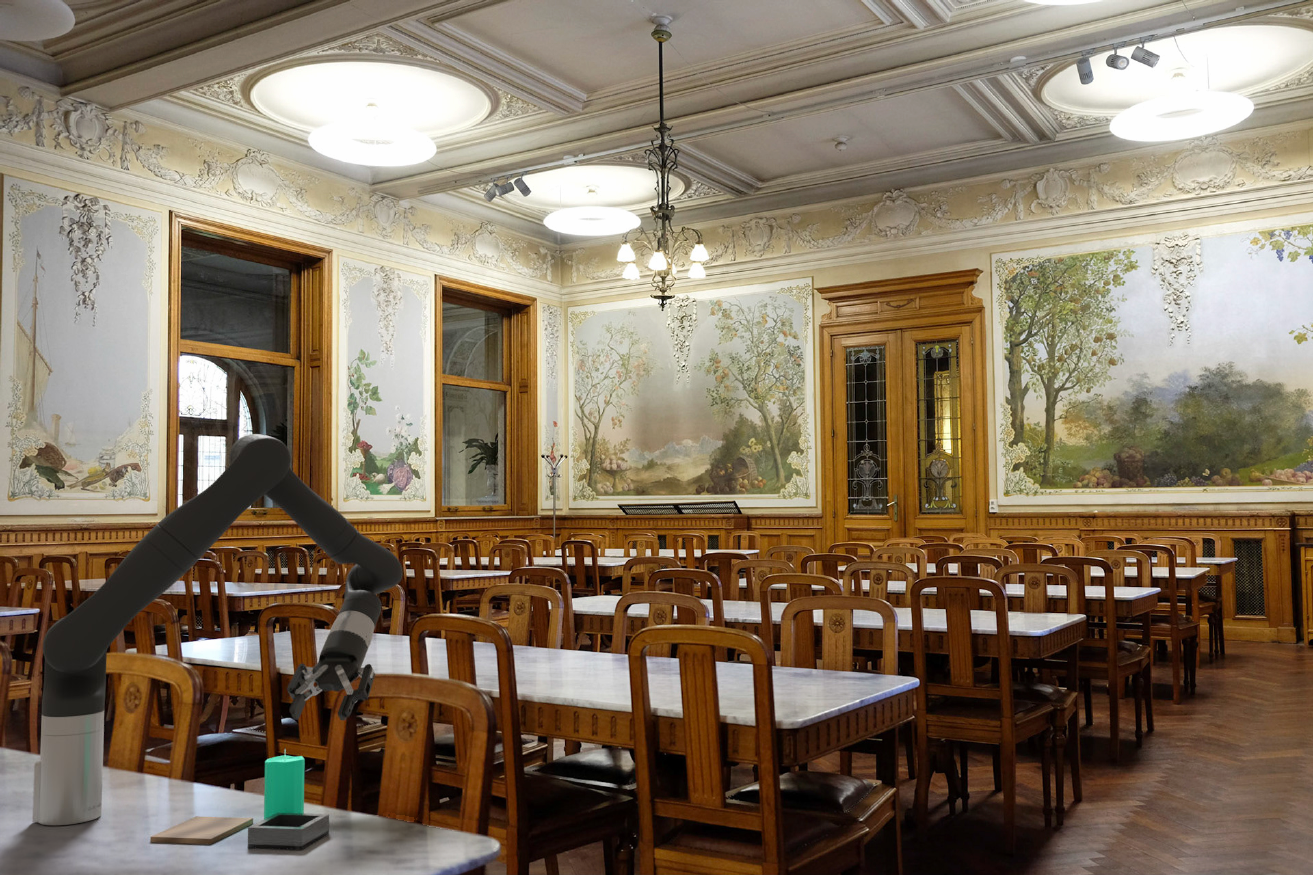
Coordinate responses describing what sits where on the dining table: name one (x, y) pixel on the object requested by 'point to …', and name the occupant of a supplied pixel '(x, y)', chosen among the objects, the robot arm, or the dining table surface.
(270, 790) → the candle
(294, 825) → the box
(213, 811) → the dining table surface
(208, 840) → the walnut board
